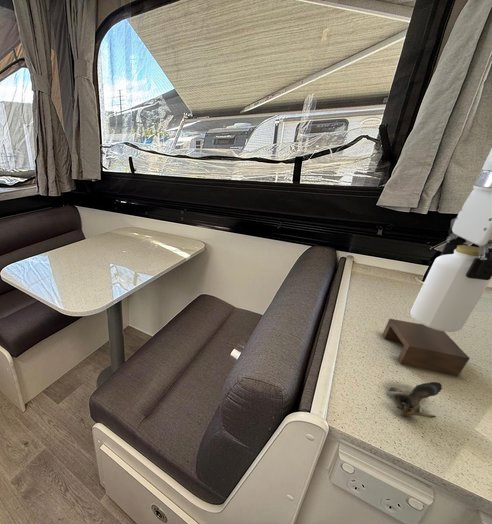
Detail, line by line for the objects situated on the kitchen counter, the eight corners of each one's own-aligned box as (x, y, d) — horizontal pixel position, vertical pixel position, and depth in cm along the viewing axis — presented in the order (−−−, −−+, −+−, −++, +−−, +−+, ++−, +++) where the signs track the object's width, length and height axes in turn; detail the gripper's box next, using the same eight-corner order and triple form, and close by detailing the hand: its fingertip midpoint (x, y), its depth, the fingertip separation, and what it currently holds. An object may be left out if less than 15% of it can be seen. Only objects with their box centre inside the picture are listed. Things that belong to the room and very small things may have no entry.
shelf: (429, 346, 68) (440, 327, 65) (456, 379, 59) (470, 358, 56) (381, 337, 71) (389, 318, 69) (398, 366, 62) (409, 346, 60)
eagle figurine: (445, 436, 46) (451, 399, 51) (428, 402, 46) (435, 367, 50) (389, 423, 53) (399, 391, 57) (373, 393, 52) (384, 363, 57)
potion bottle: (424, 309, 65) (459, 240, 58) (470, 330, 58) (516, 253, 51) (399, 315, 64) (432, 243, 56) (443, 337, 56) (487, 258, 49)
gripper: (589, 190, 40) (522, 292, 47) (500, 177, 54) (459, 256, 61) (517, 188, 42) (464, 284, 49) (451, 175, 57) (417, 251, 64)
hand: (461, 268), depth 55 cm, fingers closed on potion bottle, 8 cm apart
